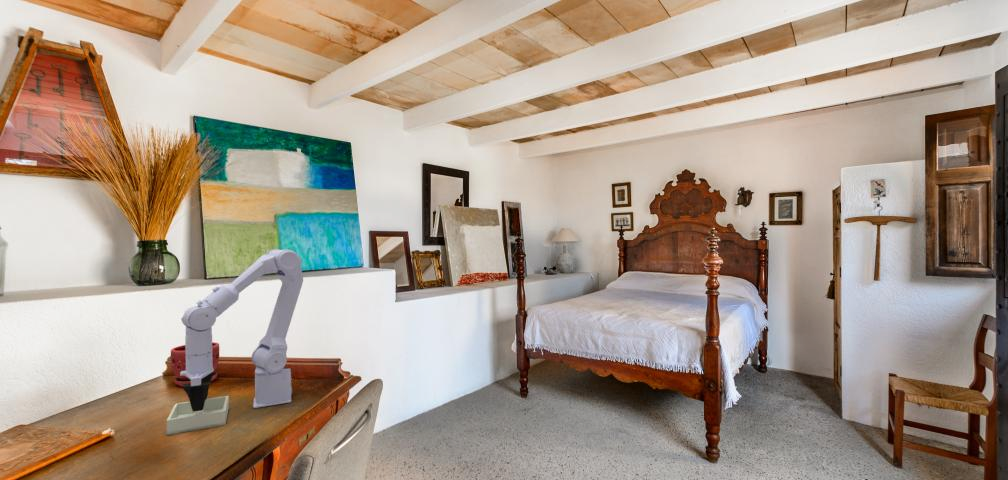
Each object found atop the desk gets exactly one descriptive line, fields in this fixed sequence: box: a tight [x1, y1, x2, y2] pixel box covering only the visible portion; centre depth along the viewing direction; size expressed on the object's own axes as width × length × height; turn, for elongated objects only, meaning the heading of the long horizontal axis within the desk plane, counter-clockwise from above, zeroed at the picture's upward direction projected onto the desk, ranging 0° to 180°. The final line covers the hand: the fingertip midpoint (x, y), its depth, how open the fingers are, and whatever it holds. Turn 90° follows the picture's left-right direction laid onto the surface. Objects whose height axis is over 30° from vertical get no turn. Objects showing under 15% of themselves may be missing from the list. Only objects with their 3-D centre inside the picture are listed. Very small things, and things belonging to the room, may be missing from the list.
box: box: [165, 395, 230, 436], centre depth 115 cm, size 12×12×4 cm
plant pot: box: [170, 341, 220, 387], centre depth 145 cm, size 13×13×12 cm
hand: (199, 405), depth 115 cm, fingers open, 7 cm apart
